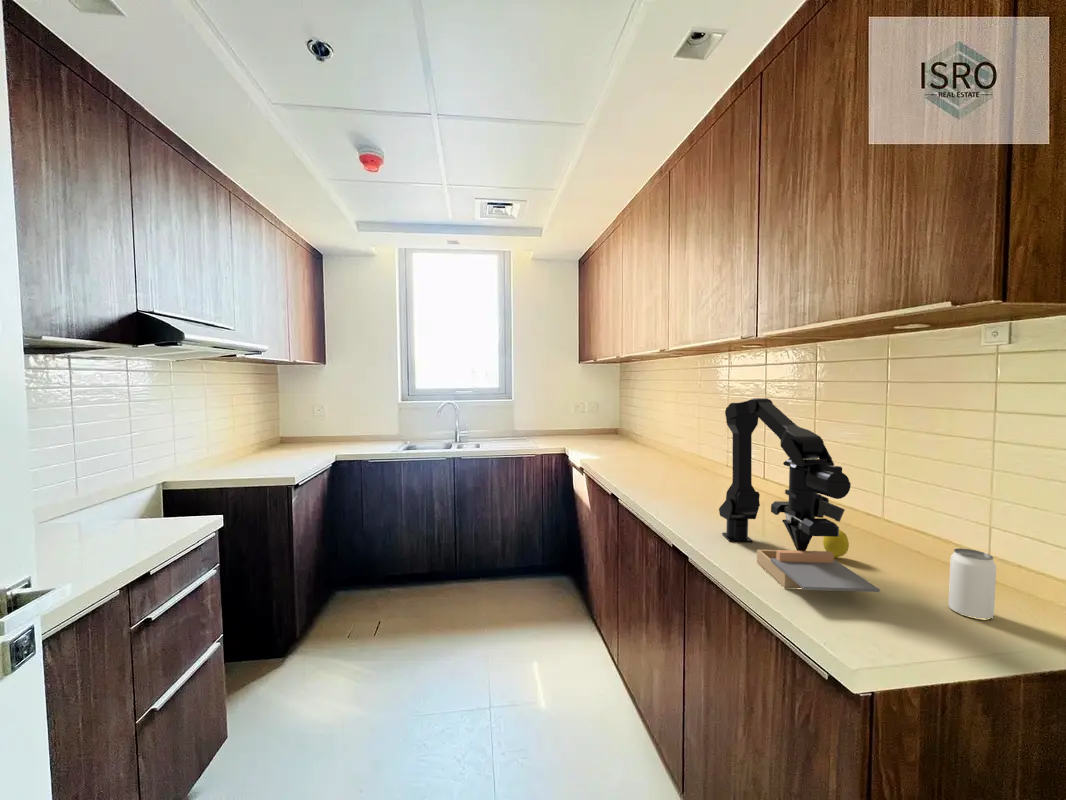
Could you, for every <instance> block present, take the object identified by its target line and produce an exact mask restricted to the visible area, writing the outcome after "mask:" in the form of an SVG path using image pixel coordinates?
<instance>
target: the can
mask: <svg viewBox="0 0 1066 800" xmlns="http://www.w3.org/2000/svg"><path fill="white" fill-rule="evenodd" d="M949 562H950V563H949V580H948V581H949V585H948V607H949V609H952V610H954V611H955V612H958V613H960V614H963V615H966V616H971V617H976V618H985V619H988V618H992V619H994V617H993V616H995V604H996V603H995V601H996V580H997V579H996V577H997V565H996V563H995V561H994V556H993V555H991V554H988V553H986V552H983V551H981V550H976V549H975V550H974V549H970V548H969V549H968V548H954V549H953V553H952V554H951V556H950V561H949ZM952 610H951V611H952ZM954 611H953V612H954ZM955 612H954V613H955Z"/></svg>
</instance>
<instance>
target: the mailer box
mask: <svg viewBox="0 0 1066 800" xmlns="http://www.w3.org/2000/svg"><path fill="white" fill-rule="evenodd" d="M776 550H777V549H756V564H757V563H758V564H759V565H760V566H761V567H762V568H763V569H762V568H761V567H760V566H759V565H758V564H757V565H758V566H759V567H760V568H761V569H762V570H763V571H765V570H766V571H765V572H766V573H767V572H768V573H769V574H770V575H771V576H772V577H773V578H774V579H775V580H776V581H777V582H776V581H775V580H774V579H773V578H772V577H771V576H770V575H769V574H768V573H767V574H768V575H769V576H770V577H771V578H772V579H773V580H774V581H775V582H776V583H777V584H778V585H780V584H781V585H782V586H783V587H784V588H802V587H801V586H799V585H798V584H797V583H796V582H795V581H794V580H792V579H791V578H790V577H789V576H788V575H786V574H785V573H784V572H783V571H782V570H781V569H779V568H778V567H777V566H776V565H775V564H774V563H772V562H771V561H770V560H771V558H776ZM781 585H780V586H781ZM782 586H781V587H782ZM783 587H782V588H783ZM784 588H783V589H784ZM802 589H803V588H802ZM802 589H801V590H802Z"/></svg>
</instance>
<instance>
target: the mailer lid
mask: <svg viewBox="0 0 1066 800" xmlns="http://www.w3.org/2000/svg"><path fill="white" fill-rule="evenodd" d="M775 550H776V558H771V560H770V561H771V562H772V563H774V564H775V565H776V566H777V567H778V568H779V569H781V570H782V571H783V572H784V573H785V574H786V575H788V576H789V577H790V578H791V579H792V580H794V581H795V582H796V583H797V584H798V585H799V586H801V587H802V588H803V589H804V590H806V591H808V590H809V591H832V592H833V591H834V592H835V591H837V592H864V593H866V592H869V593H880V591H881V589H880V588H879V587H877V586H875V585H874V584H873V583H871V582H869V581H868V580H866V579H865V578H864V577H862V576H860V575H859V574H857V573H856V572H854V571H852V570H851V569H849V568H848V567H847V566H845V565H843V564H842V563H840V562H839V561H838V560H836V559H835V558H834V554H833V553H831V552H829V551H826V550H824V551H821V550H820V551H819V550H806V551H797V550H789V549H788V550H786V549H783V550H782V549H775Z"/></svg>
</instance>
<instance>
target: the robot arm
mask: <svg viewBox="0 0 1066 800" xmlns="http://www.w3.org/2000/svg"><path fill="white" fill-rule="evenodd" d="M724 413H725V414H724V415H725V419H726V420H725V421H726V425H727V427H728V428H729V430H730V432H731V433H732V481H731V482H732V483H731V485H730V486H729V488H728V489H727V490H726V493H725V494H726V496H725V501H723V503H722V504H721V505H720V507H719V508H718V512H719V516H720V517H722V518H723V519H725V520H726V529H725V530H726V531H725V532H722V533H721V535H722V536H723V537H725V539H726V540H727V541H728V542H731V543H732V542H733V543H735V542H737V543H753V542H754V541H753V539H752V538H750V537H749V520H756V519H757V515H758V513H759V507H761V504H760V492H759V491H756V489H755V488H754V486H753V485H752V483H753V482H752V481H753V480H752V478H753V477H752V473H753V472H752V471H753V470H752V459H753V458H752V454H753V453H752V449H753V448H752V441H753V440H752V435H753V433H754V431H755V429H756V428H757V427H758V425H759V420H761V422H763V423H764V424H765V426H766V427H768V429H770V430H771V432H773V433H774V434H775V435H776V436H777V437H778V438H779V440H780V447H781V449H782V450H783V452H784V453H785V454H786V456H787V457H788V459H786V460H785V461H783V465H784V466H787V467H789V473H788V489H785V490H784V494H785V495H787V496H788V501H783V500H782V501H779V500H777V501H776V500H775V501H773V503H771V505H770V512H771V513H773V514H774V515H776V516H777V515H780V513H783V514H784V515H785V519H782V523H783V524H784V526H785V528H786V530H787V532H788V534H789V536H790V539H791V540H792V543H793V545H794V547H795V549H796V551H807V550H808V547H809V544H810V542H811V540H812V539H813V537H824V536H830V537H838V536H839V530H840V526H838V525H837V523H836V522H838V523H840V521H841V520H842V517H843V515H844V513H845V509H844V508H842V507H841V506H838V505H835V504H833V503H831V502H829V501H830V500H829V498H832V499H836V500H839V499H843V498H845V497H846V496H847V495H848V494H849V493H850V490H851V484H852V483H851V481H850V479H849V477H848V476H847V475H846V474H845V473H844V472H843V467H842V466H839V465H835V463H834V461H833V458H832V456H831V455H830V453H829V451H828V449H827V447H826V445H825V444H824V443H825V441H824V440H823V439H822V437H821V436H820V435H818V434H816V433H815V432H813V431H811V430H809V429H807V428H804V427H800V426H798V425H797V424H796V423H795V422H794V421H792V420H791V418H789V417H788V416H787V415H786V414H785V413H783V411H781V410H780V409H779V408H778V407H777V406H776V405H774V404H773V401H772V400H771V399H769V398H766V397H764V398H760V397H759V398H758V397H757V398H756V397H755V398H751V399H748V400H746V401H741V402H731V403H729V405H728V406H727V407H726V408H725V411H724ZM828 497H829V498H828ZM824 516H825V517H827V518H830V519H831V520H832V519H833V520H834V521H836V522H834V521H831V520H829V519H827V518H824Z"/></svg>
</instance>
